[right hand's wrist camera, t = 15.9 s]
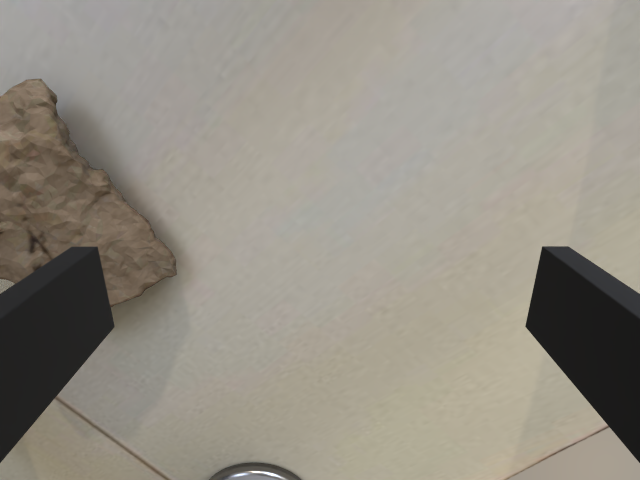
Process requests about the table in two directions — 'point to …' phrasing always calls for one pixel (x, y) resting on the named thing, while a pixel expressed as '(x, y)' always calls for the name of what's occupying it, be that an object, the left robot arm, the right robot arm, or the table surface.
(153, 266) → the stone
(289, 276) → the table surface
